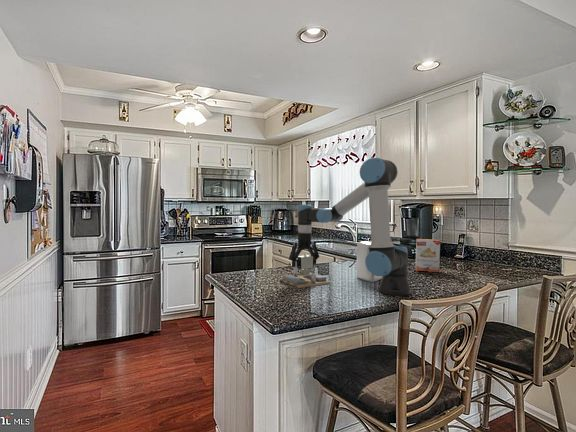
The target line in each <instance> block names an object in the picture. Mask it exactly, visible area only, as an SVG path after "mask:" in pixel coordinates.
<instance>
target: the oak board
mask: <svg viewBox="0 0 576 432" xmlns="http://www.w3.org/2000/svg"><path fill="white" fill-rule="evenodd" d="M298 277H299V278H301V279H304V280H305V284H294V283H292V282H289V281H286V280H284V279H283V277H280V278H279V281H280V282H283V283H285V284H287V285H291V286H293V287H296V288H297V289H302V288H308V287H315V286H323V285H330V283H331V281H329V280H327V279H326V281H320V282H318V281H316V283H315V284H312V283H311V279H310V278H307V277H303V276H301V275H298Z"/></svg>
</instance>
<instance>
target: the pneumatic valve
mask: <svg viewBox="0 0 576 432" xmlns="http://www.w3.org/2000/svg"><path fill="white" fill-rule="evenodd" d="M296 261H297V268H298V269H300V270H299V276H303V277H304V276H309V274H310V272H311V271H310V270H309V269H311V268H313V267H314V265H315V264H316V265H317V259H315V258H314V256H311V254H310V255H309V254H306V253H304V254H303V255H299V256H298V257H297V259H296ZM316 265H315V266H316Z"/></svg>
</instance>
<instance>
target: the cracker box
mask: <svg viewBox="0 0 576 432" xmlns="http://www.w3.org/2000/svg"><path fill="white" fill-rule="evenodd" d="M415 241H416V246H415V271H416V272H418V271H428V272H427V273H432V272H439V273H440V257H441V254H440V253H441V240H440V239H429V238H428V239H427V238H424V239H423V238H416V239H415Z"/></svg>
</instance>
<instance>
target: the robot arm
mask: <svg viewBox="0 0 576 432" xmlns="http://www.w3.org/2000/svg"><path fill="white" fill-rule="evenodd" d="M398 173H399V172H398V168H397V165H396V164H395V163H394V162H393V161H391V160H387V159H383V158H381V157H370V158H367V159H365V161H363V162H362V164H361V165H360V168H359V177H360V179H361V180H362V181H363V183H362V184H360V185H359V186H357V187H356V188H355V189H354V190H352V191H351V192H350V193H349V194H347V195H346V196H345V197H343V198H342V199H340V201H338V202H337V203H336V204H334V205H333V206H332V207H328V208H325V207H324V208H323V207H321V208H319V207H317V208H316V207H314V208H313V207H312V206H313V205H312V204H298V209H297V221H298V222H297V232H298V233H297V241H296V242H295V241H293V242H292V248H291V251H290V254H289V257H288V260H290V261H291V266H292V267H291V268H293V269H292V272H293V274H294V273H297V261H296V259H297V257H298V256H300V254H301V252H303V250H307V251H308V253H309V254H310V255H311V256H314V258H315V259H316V260H318V259H320V254H319V251H318V248H317V241H316V240H312V231H313V230H312V229H313V228H312V227H313V226H312V225H313V224H312V223H321V224H327V223H330V222H331V223H332V222H334V223H336V222H340V221H341V220H343V218H344V216H345V215H346V214H348V213H349V212H350V211H352V210H353V209H354V208H356V207H358V206H359V205H361V203H363V202H364V201H366V200H367V199H368V203H369V205H368V206H369V207H368V208H369V219H370V223H369V224H370V236H371V238H370V239H371V240H370V241H372V243H371V244H370V245H369V253H368V255H367V256H366V259H365V264H366V267H367V269H368V271H370V273H372V274H373V275H375V276H382V279H380V282H379V285H378V292H379V293H381V294H383V295H388V296H397V297H403V296H404V295H405V296H409V295H411V294H412V289H411V287H410V283H409V279H408V266H409V265H408V261H409V258H408V257H409V253H408V248H407V246H399V245H395V244H393V242H392V241H391V240H392V239H391V227H390V225H391V224H390V211H389V209H390V208H389V207H390V206H389V196H388V194H389V193H388V190H389V189H390V188H391V184H392V183H393V182H394V181H395V180H396V178H397V177H398ZM316 265H317V263H316V264H315V265H314V267H313V268H310V270H311V271H312V272H316Z"/></svg>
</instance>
